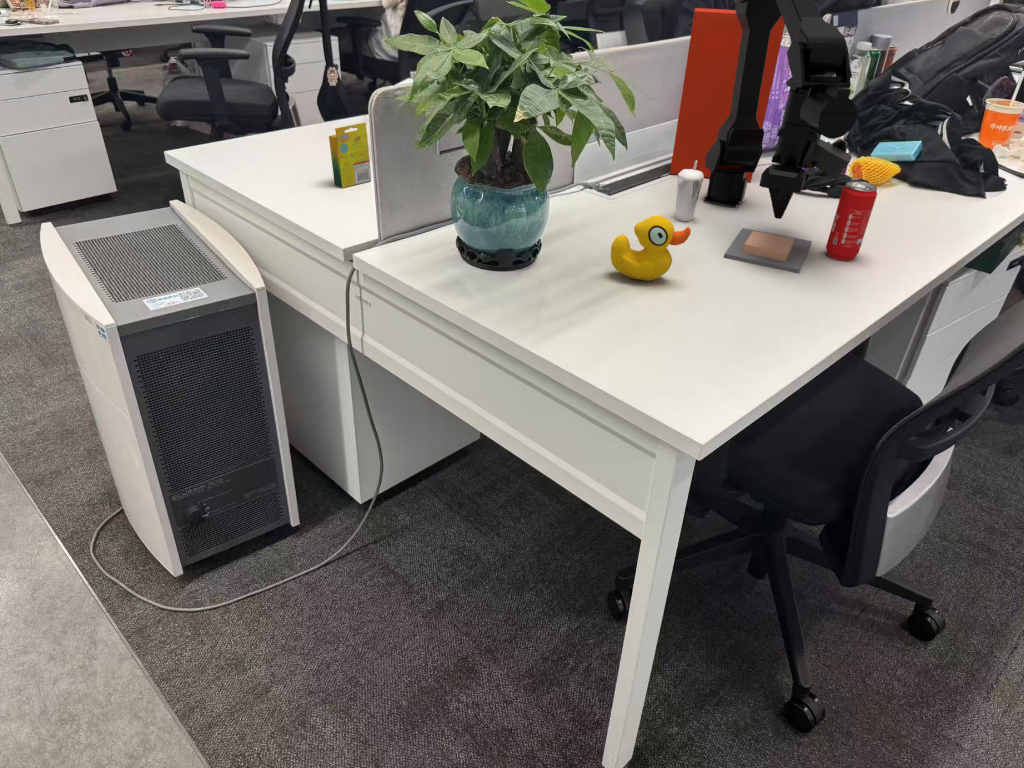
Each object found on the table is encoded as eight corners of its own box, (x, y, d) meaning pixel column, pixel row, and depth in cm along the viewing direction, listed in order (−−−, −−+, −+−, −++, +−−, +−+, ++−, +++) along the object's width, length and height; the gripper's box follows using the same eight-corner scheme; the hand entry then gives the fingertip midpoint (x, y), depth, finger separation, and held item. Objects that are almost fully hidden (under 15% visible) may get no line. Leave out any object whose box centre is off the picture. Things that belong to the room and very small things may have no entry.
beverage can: (841, 263, 119) (863, 192, 112) (817, 252, 122) (837, 183, 116) (863, 258, 121) (886, 188, 114) (838, 247, 124) (859, 179, 118)
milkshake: (699, 215, 136) (709, 162, 130) (692, 224, 132) (702, 170, 126) (675, 211, 137) (684, 158, 132) (668, 220, 133) (677, 166, 128)
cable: (785, 197, 148) (790, 176, 145) (772, 176, 159) (776, 157, 157) (871, 203, 147) (877, 181, 144) (851, 181, 158) (857, 162, 156)
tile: (751, 239, 125) (742, 252, 120) (752, 230, 124) (744, 244, 119) (792, 247, 122) (785, 261, 117) (794, 239, 122) (787, 253, 116)
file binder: (671, 164, 164) (695, 7, 146) (748, 171, 161) (782, 12, 143) (669, 174, 157) (694, 11, 140) (750, 182, 154) (786, 16, 137)
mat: (723, 257, 119) (724, 253, 119) (741, 230, 130) (742, 227, 129) (798, 273, 115) (799, 269, 115) (810, 244, 125) (811, 241, 125)
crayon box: (363, 177, 149) (358, 119, 142) (372, 181, 147) (367, 122, 140) (333, 185, 144) (327, 125, 138) (341, 188, 142) (335, 128, 136)
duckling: (681, 275, 113) (692, 214, 107) (681, 290, 108) (692, 226, 103) (609, 267, 114) (616, 206, 109) (606, 281, 110) (613, 218, 105)
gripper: (850, 142, 103) (821, 245, 111) (861, 117, 117) (834, 210, 125) (770, 131, 107) (748, 231, 115) (790, 108, 121) (769, 199, 129)
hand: (778, 218), depth 121 cm, fingers closed
